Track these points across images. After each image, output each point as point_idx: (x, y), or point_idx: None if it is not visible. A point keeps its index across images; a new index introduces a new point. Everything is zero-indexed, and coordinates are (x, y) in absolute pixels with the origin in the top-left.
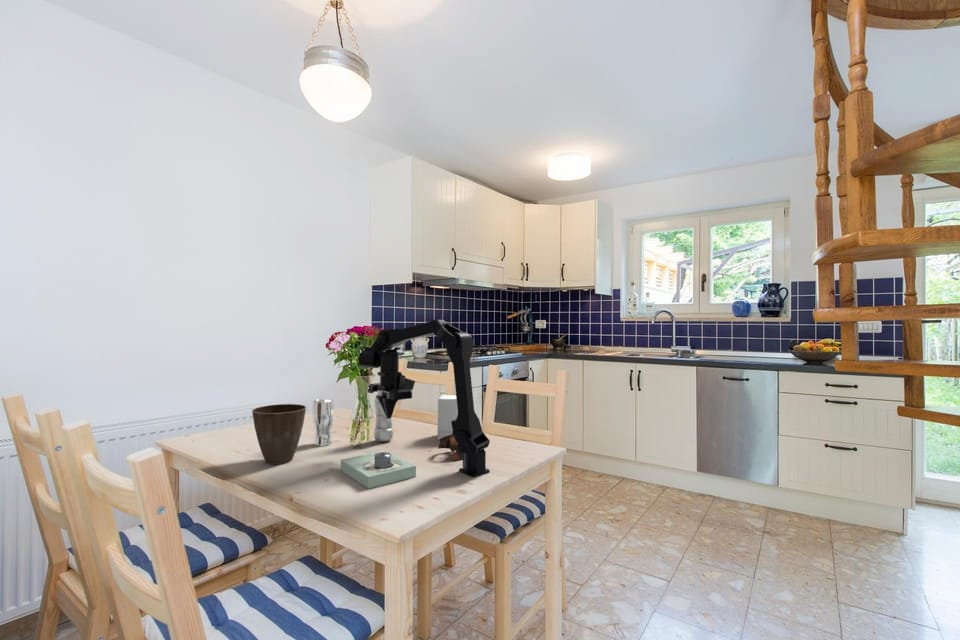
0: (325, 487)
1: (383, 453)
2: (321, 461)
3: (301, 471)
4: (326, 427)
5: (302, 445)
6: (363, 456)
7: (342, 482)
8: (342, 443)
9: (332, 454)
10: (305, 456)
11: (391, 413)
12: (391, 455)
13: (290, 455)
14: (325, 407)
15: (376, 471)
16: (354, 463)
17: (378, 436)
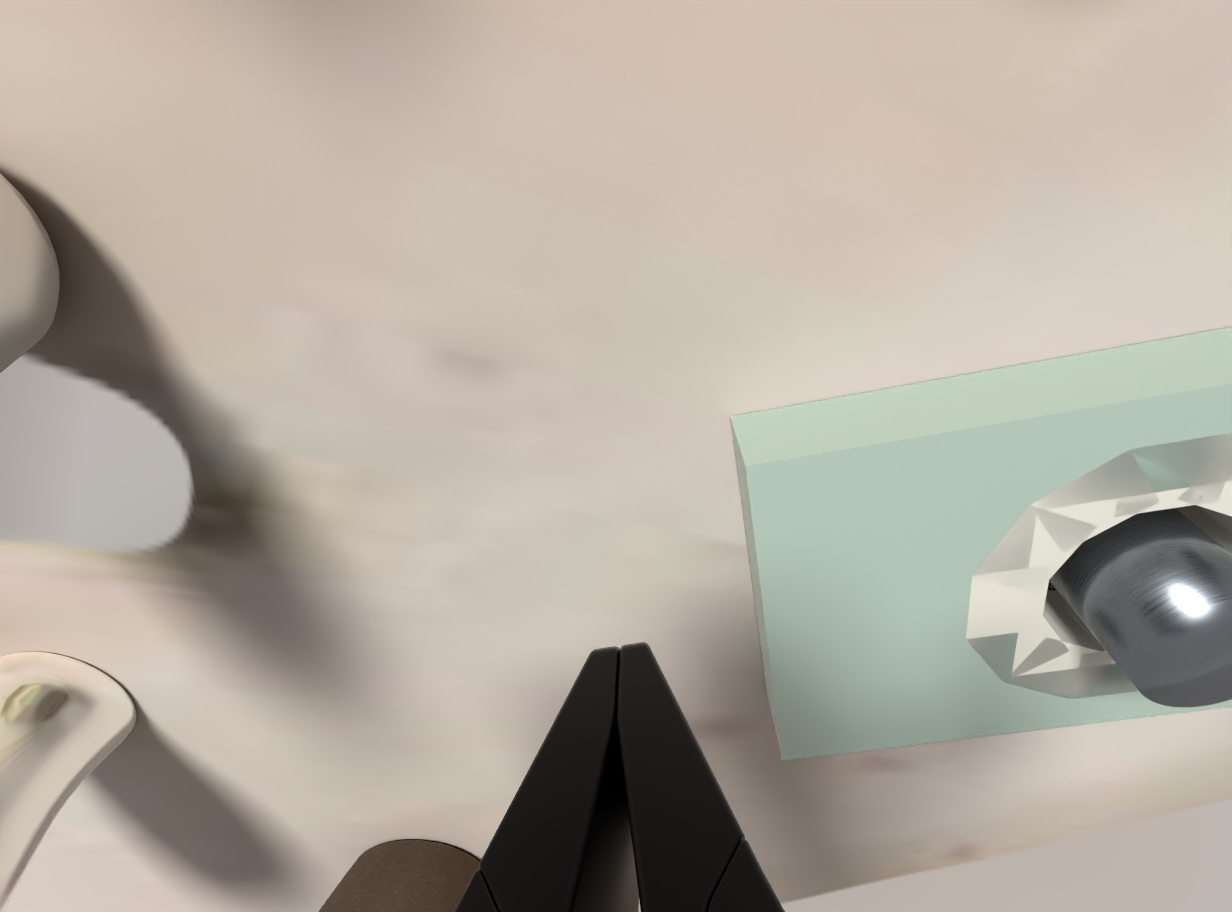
0: (993, 778)
1: (1190, 643)
2: (522, 746)
3: None
4: (7, 835)
5: (96, 785)
6: (804, 643)
7: None
8: (54, 592)
9: (379, 685)
10: (375, 793)
11: (689, 735)
12: (944, 454)
13: None
14: None
15: None
16: (930, 715)
17: (22, 349)
